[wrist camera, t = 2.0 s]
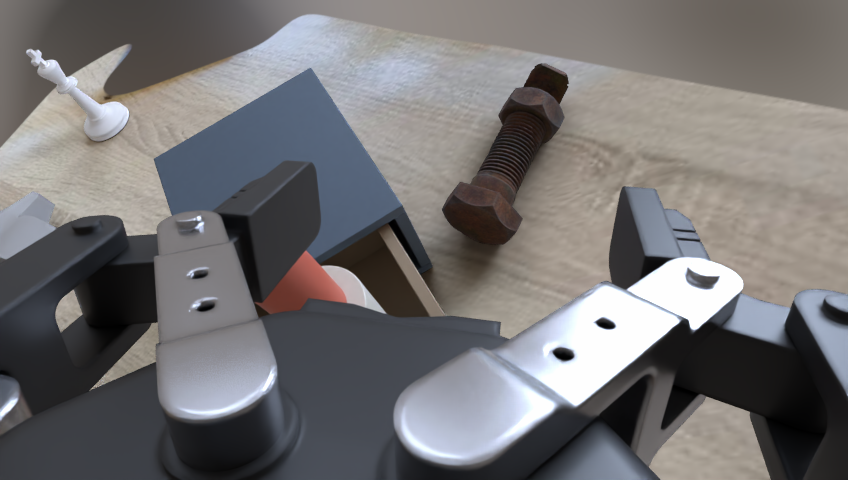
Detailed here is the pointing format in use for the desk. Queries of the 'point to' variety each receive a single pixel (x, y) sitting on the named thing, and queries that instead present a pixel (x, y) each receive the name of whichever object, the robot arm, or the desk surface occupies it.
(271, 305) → the red and white cylinder
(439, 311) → the drawer
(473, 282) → the desk surface
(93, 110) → the chess piece
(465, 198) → the bolt
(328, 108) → the cabinet
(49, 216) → the bunny figurine
